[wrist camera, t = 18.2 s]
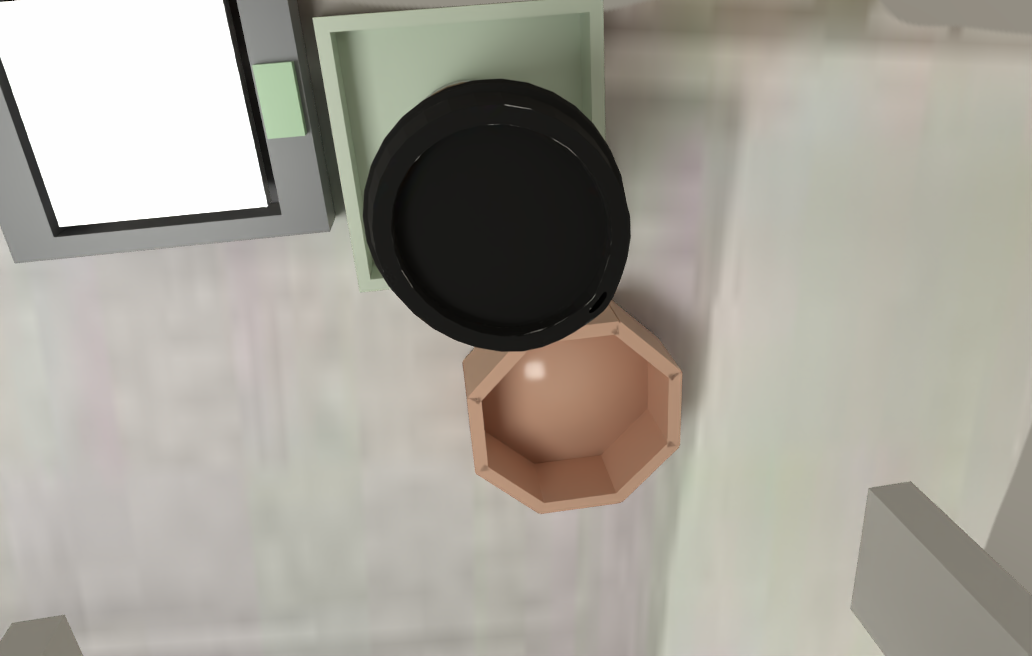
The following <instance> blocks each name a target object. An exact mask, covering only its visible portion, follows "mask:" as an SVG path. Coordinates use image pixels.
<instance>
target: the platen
mask: <svg viewBox="0 0 1032 656" xmlns="http://www.w3.org/2000/svg"><path fill="white" fill-rule="evenodd" d="M0 56H1V59H2V62H3V65H4V68H5V71H6V74H7V76H8V79H9V82H10V85H11V88H12V91H13V94H14V97H15V99H16V102H17V105H18V108H19V111H20V114H21V117H22V120H23V122H24V125H25V128H26V131H27V134H28V137H29V140H30V143H31V146H32V148H33V151H34V154H35V157H36V160H37V163H38V166H39V169H40V171H41V174H42V177H43V180H44V183H45V186H46V189H47V192H48V194H49V197H50V200H51V203H52V206H53V209H54V212H55V215H56V217H57V220H58V223H59V226H60V227H62V226H72V225H82V224H93V223H103V222H113V221H123V220H134V219H144V218H154V217H164V216H175V215H185V214H195V213H205V212H216V211H226V210H236V209H246V208H257V207H267V206H268V205H269V204H270V203H271V201H272V200H271V195H270V191H269V186H268V181H267V177H266V172H265V168H264V163H263V158H262V154H261V149H260V144H259V140H258V135H257V130H256V126H255V121H254V117H253V112H252V107H251V103H250V98H249V93H248V89H247V84H246V79H245V75H244V70H243V66H242V61H241V56H240V52H239V47H238V42H237V38H236V33H235V28H234V24H233V19H232V15H231V10H230V5H229V1H228V0H22V1H8V2H0Z"/></svg>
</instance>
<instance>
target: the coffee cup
mask: <svg viewBox="0 0 1032 656" xmlns="http://www.w3.org/2000/svg"><path fill="white" fill-rule="evenodd" d="M363 222H364V228H365V235H366V242H367V244H368V247H369V250H370V252H371V255H372V258H373V260H374V263H375V265H376V267H377V269H378V270H379V272H380V273H381V275H382V277H383V278H384V280H385V281H386V283H387V285H388V286H389V287H390V288H391V290H392V291H393V292H394V293H395V294H396V295H397V296H398V297H399V298H400V299H401V300H402V301H403V303H404V304H405V305H406V306H407V307H408V308H409V309H410V310H411V311H412V312H413V313H414V314H415V315H416V316H418V317H419V318H420V319H421V320H423V321H424V322H425V323H427V324H428V325H429V326H431V327H432V328H433V329H435V330H437V331H439V332H441V333H443V334H445V335H446V336H448V337H450V338H452V339H454V340H456V341H459V342H462V343H465V344H468V345H471V346H474V347H477V348H482V349H488V350H494V351H500V352H523V351H527V350H532V349H537V348H542V347H544V346H547V345H549V344H552V343H554V342H557V341H559V340H561V339H563V338H565V337H567V336H569V335H570V334H572V333H574V332H576V331H577V330H579V329H580V328H582V327H583V326H585V325H586V324H588V323H589V322H590V321H592V320H593V319H595V318H596V317H597V316H598V315H600V314H601V313H602V312H603V311H604V310H605V309H606V308H607V306H608V305H609V303H610V302H611V300H612V298H613V296H614V294H615V291H616V289H617V287H618V284H619V281H620V279H621V276H622V274H623V271H624V267H625V264H626V260H627V257H628V251H629V244H630V238H631V234H630V215H629V211H628V207H627V203H626V197H625V192H624V187H623V183H622V178H621V174H620V171H619V169H618V167H617V164H616V162H615V160H614V157H613V155H612V152H611V150H610V149H609V147H608V145H607V143H606V142H605V140H604V139H603V137H602V136H601V134H600V133H599V131H598V130H597V128H596V127H595V125H594V124H593V123H592V122H591V121H590V120H589V119H588V118H587V117H586V116H585V115H584V114H583V113H582V112H581V111H580V110H579V109H578V108H577V107H576V106H575V105H573V104H572V103H570V102H569V101H567V100H565V99H564V98H562V97H561V96H559V95H557V94H556V93H554V92H552V91H550V90H547V89H544V88H542V87H539V86H536V85H533V84H531V83H528V82H521V81H515V80H508V79H484V80H463V81H456V82H453V83H449V84H446V85H444V86H442V87H440V88H439V89H437V90H435V91H434V92H433V93H431V94H430V95H429V96H428V97H426V98H425V99H424V100H422V101H421V102H420V103H419V104H417V105H416V106H415V107H414V108H413V109H411V110H410V111H409V112H408V113H406V114H405V115H404V116H403V117H401V119H400V120H399V121H398V122H397V124H396V125H395V126H394V127H393V128H392V130H391V131H390V132H389V133H388V134H387V136H386V137H385V138H384V140H383V142H382V144H381V146H380V148H379V150H378V152H377V154H376V156H375V158H374V160H373V162H372V164H371V167H370V170H369V174H368V178H367V182H366V185H365V189H364V201H363Z"/></svg>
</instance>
